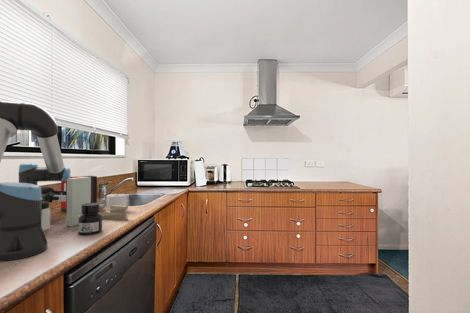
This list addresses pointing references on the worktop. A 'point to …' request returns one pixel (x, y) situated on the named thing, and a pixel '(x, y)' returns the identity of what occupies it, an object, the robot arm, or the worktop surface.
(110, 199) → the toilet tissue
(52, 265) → the worktop surface
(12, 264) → the worktop surface
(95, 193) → the cleaning product box
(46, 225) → the jar
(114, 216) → the slotted rail
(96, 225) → the ink bottle
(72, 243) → the worktop surface
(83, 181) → the pale green panel
